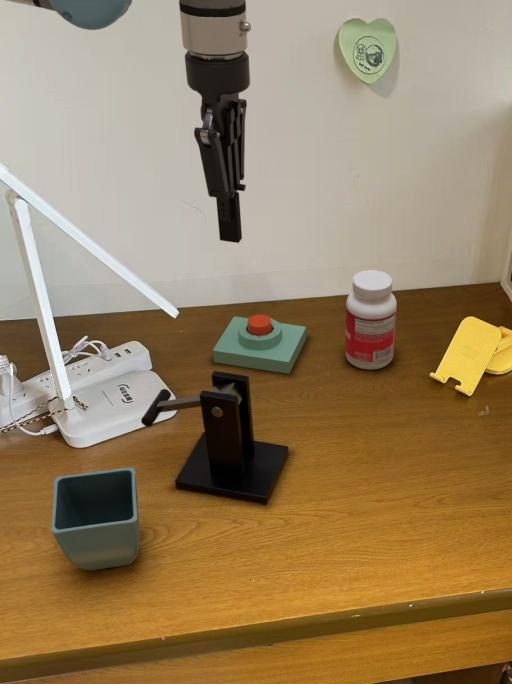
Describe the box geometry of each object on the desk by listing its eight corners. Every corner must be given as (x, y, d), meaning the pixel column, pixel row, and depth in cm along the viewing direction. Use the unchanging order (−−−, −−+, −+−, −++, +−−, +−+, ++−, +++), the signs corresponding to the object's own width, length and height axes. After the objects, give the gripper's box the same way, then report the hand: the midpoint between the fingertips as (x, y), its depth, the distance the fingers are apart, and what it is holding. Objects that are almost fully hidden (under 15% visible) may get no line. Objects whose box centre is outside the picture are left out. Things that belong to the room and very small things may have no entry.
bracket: (176, 488, 98) (159, 402, 88) (204, 438, 105) (191, 354, 95) (266, 504, 96) (259, 419, 87) (288, 453, 103) (285, 368, 94)
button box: (213, 362, 118) (211, 340, 115) (235, 327, 125) (233, 306, 122) (289, 374, 116) (288, 351, 114) (306, 338, 123) (306, 316, 121)
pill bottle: (353, 340, 123) (355, 263, 114) (398, 349, 122) (404, 271, 113) (338, 366, 118) (339, 287, 109) (385, 375, 117) (390, 296, 107)
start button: (244, 335, 117) (244, 325, 116) (252, 322, 120) (251, 312, 118) (267, 338, 117) (267, 328, 115) (274, 325, 119) (274, 316, 118)
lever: (146, 430, 95) (137, 415, 93) (165, 401, 99) (156, 386, 98) (231, 419, 90) (223, 402, 89) (247, 389, 95) (239, 373, 93)
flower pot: (147, 519, 94) (134, 465, 88) (150, 574, 88) (137, 520, 81) (72, 530, 92) (53, 476, 86) (70, 587, 86) (50, 533, 80)
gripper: (228, 70, 85) (241, 265, 102) (263, 40, 95) (270, 222, 111) (164, 63, 86) (188, 257, 102) (205, 33, 95) (221, 215, 112)
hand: (230, 239), depth 107 cm, fingers closed
